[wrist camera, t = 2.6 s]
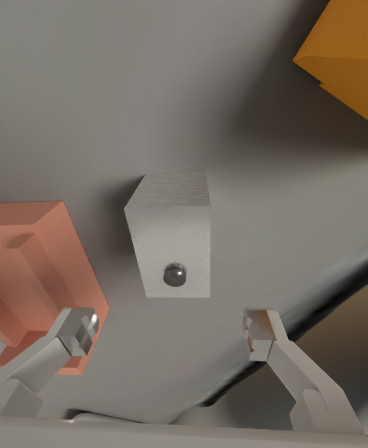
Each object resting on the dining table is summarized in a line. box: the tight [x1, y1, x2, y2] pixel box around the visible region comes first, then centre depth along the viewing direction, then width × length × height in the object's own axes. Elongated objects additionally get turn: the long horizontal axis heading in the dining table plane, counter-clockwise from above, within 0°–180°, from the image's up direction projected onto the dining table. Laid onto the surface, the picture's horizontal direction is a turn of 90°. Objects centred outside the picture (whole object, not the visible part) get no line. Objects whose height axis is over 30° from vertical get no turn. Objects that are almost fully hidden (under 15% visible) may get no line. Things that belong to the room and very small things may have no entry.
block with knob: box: [124, 172, 210, 297], centre depth 16 cm, size 8×5×6 cm, turn 4°
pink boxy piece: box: [0, 201, 110, 375], centre depth 20 cm, size 16×9×8 cm, turn 4°
